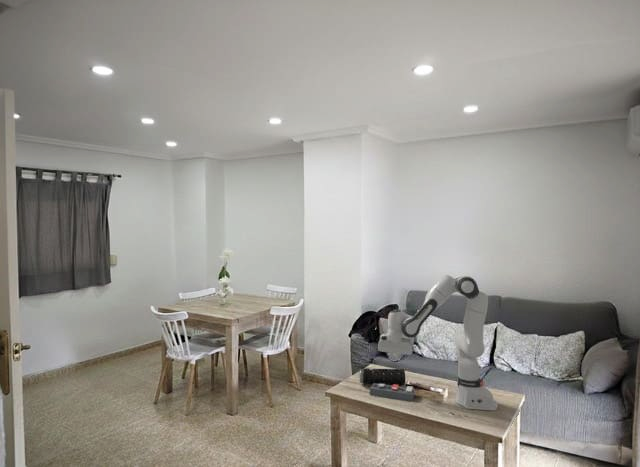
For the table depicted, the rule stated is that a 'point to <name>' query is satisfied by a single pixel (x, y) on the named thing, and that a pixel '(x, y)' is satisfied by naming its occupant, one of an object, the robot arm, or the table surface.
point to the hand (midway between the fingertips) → (394, 360)
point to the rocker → (409, 389)
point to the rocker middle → (395, 387)
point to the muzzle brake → (382, 376)
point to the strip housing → (392, 392)
